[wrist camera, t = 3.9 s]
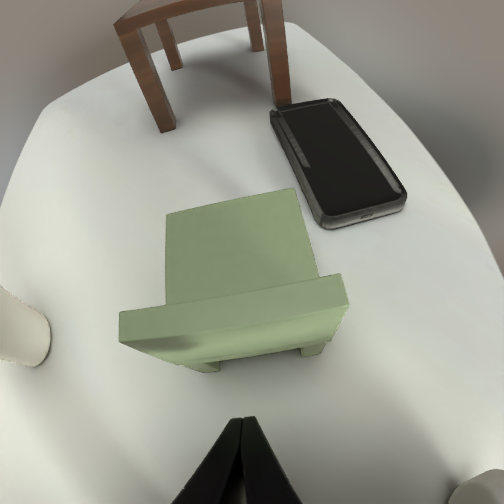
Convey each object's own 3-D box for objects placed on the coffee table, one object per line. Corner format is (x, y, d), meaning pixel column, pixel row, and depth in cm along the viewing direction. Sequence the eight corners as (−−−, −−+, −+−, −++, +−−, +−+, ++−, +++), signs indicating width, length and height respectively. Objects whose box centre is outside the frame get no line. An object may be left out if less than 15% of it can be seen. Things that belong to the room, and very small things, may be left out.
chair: (324, 352, 17) (350, 305, 9) (199, 373, 18) (118, 342, 9) (296, 231, 22) (290, 126, 13) (190, 252, 22) (134, 163, 14)
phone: (336, 97, 28) (412, 200, 20) (335, 105, 28) (408, 208, 21) (265, 109, 28) (320, 224, 20) (266, 117, 29) (319, 233, 21)
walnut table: (292, 105, 30) (279, -17, 17) (160, 133, 30) (112, 24, 18) (262, 46, 39) (249, -30, 27) (172, 66, 40) (147, -6, 28)
